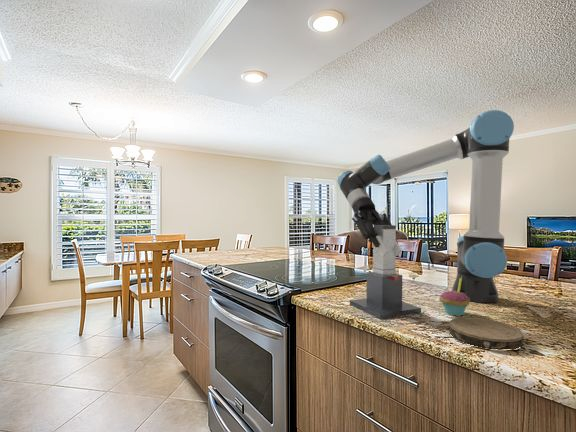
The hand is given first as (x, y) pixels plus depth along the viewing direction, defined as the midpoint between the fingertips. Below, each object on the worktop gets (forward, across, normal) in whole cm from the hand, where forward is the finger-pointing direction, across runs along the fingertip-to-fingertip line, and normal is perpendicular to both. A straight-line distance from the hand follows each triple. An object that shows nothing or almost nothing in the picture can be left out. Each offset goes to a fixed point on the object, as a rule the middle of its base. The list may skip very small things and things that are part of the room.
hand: (392, 253), depth 102 cm
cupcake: (+20, -17, -7) cm, 27 cm away
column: (+7, 0, -12) cm, 14 cm away
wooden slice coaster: (+32, -7, +5) cm, 33 cm away
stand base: (+10, 0, -16) cm, 19 cm away
